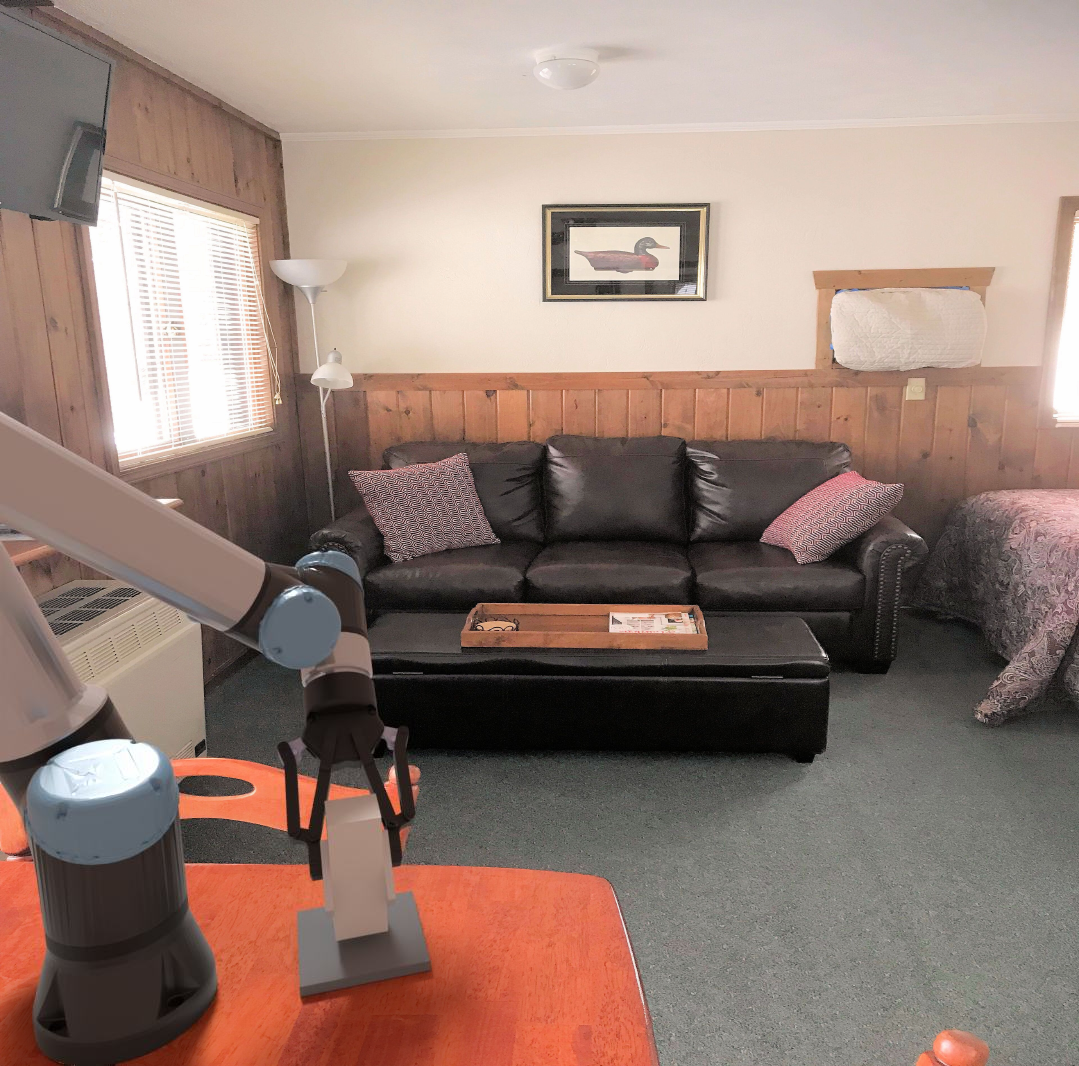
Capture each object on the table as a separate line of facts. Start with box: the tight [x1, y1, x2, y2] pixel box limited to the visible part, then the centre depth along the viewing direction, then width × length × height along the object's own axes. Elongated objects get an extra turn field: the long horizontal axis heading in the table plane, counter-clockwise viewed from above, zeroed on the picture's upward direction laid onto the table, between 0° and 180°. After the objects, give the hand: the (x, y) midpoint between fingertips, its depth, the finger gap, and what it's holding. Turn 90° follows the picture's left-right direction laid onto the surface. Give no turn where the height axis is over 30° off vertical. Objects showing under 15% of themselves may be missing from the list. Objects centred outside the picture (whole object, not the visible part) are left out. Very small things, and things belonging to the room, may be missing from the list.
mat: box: [296, 890, 432, 998], centre depth 89 cm, size 12×12×1 cm
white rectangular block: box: [324, 793, 388, 941], centre depth 87 cm, size 5×5×12 cm
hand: (360, 907), depth 84 cm, fingers closed on white rectangular block, 5 cm apart
